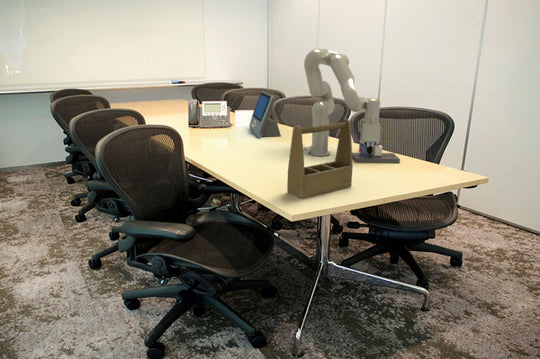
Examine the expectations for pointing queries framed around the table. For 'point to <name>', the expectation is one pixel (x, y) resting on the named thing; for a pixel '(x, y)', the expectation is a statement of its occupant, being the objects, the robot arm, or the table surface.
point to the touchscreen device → (264, 117)
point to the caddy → (322, 175)
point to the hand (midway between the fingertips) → (369, 153)
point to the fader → (377, 150)
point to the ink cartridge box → (363, 146)
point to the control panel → (375, 158)
